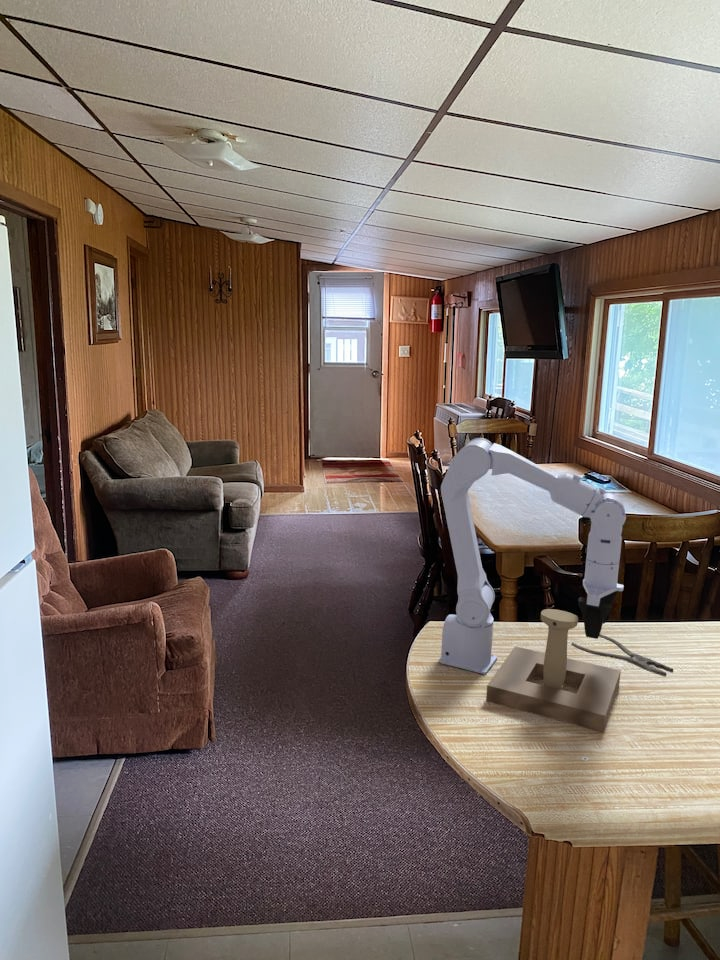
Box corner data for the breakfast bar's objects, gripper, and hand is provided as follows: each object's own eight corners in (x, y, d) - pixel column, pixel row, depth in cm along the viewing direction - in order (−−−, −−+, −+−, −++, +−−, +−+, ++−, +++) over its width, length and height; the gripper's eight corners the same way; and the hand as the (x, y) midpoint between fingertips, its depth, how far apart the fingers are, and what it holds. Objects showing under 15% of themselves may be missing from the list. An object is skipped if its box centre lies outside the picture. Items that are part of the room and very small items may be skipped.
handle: (540, 681, 132) (546, 606, 129) (574, 692, 129) (581, 615, 126) (531, 692, 128) (537, 615, 125) (565, 703, 125) (573, 624, 122)
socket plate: (486, 700, 125) (487, 685, 125) (513, 660, 141) (514, 646, 140) (603, 732, 116) (605, 715, 116) (619, 685, 132) (620, 670, 131)
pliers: (587, 629, 155) (683, 657, 143) (586, 633, 155) (682, 661, 143) (569, 643, 148) (668, 674, 135) (568, 647, 148) (668, 678, 136)
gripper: (620, 575, 120) (612, 649, 123) (631, 552, 133) (623, 620, 136) (577, 568, 123) (571, 640, 126) (592, 546, 136) (586, 612, 139)
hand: (595, 629), depth 131 cm, fingers open, 7 cm apart
